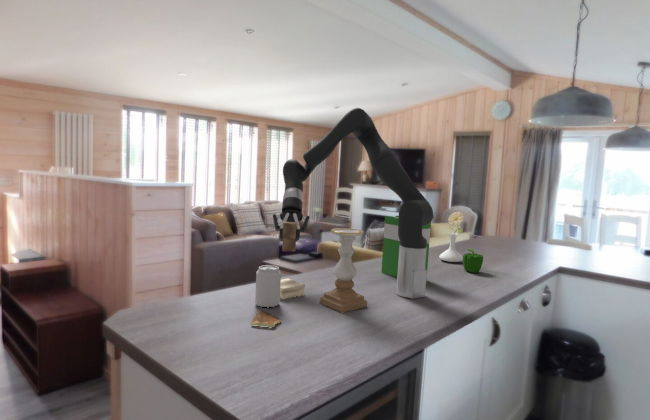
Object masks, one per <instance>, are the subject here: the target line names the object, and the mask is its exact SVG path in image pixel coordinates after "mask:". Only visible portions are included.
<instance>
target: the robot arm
mask: <svg viewBox="0 0 650 420" xmlns="http://www.w3.org/2000/svg"><path fill="white" fill-rule="evenodd" d="M351 134H352V135H353V136H354V137H356V139H357V140H358V141H359V143H361V145H362V146H363V147H364V149H365V151H366V153H367V157H368V159H369V162H370V165H371V168H372V169H373V171H374V172H375V174H376V175H377V177H378V178H379V179H380V181H381V182H382V183H383V184H384V185H385V186H386V187H388V188H389V189H390V190H391V191H393V193H395V194H396V195H397V196H398V198H400V200H401V201H402V204H401V205H400V208H399V210H398V215H397V216H398V237H399V240H400V248H399V261H398V275H397V277H396V294H397V295H398V296H399V297H403V298H409V299H411V300H413V299H420V298H426V289H427V288H426V287H427V280H426V278H427V277H428V269H427V270H425V262H426V249H427V240H426V238H424V237H423V235H422V226H425V225H427V224H429V223H430V222H431V223H432V221H433V219H434V209H433V207H432V205H431V203H430V202H429V201H428V200H427V198H425V196H424V195H423V194H422V193H421V191H420V190H419V189H418V188H417V186H416V185H415V184H414V183H413V181H412V179H411V178H410V175H408V173H407V171H406V170H405V169H404V166H403V165H402V163H401V162H400V161H399V159H398V158H397V156H396V154H395V153H394V152H393V151H392V149H391V148H390V146H388V144H387V143H386V142H385V141H384V140H383V139H382V137H381V136H380V134H379V131H378V129H377V126H375V124H374V121H373V119H372V117H371V116H370V115H369V114H368V113H367V112H366V111H365V110H364V109H363V108H360V107H354V108H351V109H350V110H348V111H347V112H346V113H345V114H344V115H343V116H342V118H341V119H340V120H339V121H338V122H337V123H336V124H335V125H334V126H333V128H332V129H331V130H329V131H328V133H326V135H325V136H324V137H322V138H321V139H320V140H319V141H318V142H317V143H315V144H314V145H313V146H311V147H310V148H309V149H308V150H307V151H305V152H304V153H303V154H302V158H303V161H304V162H305V164H304V165H302V164H301V162H299V161H298V160H297V159H295V158H289V159H287V161H285V163H283V166H282V176H283V181H284V194H283V197H282V206H281V212H280V213H279V214H276V213H274V214H272V220H273V221H272V222H273V225H274V229H275V231H276V232H279V233H278V237H279V240H280V241H281V242H283V223H284V221H285V222H286V221H291V222H297V227H296V228H297V230H296V237H295V240H296V242H298V241H299V240H300V237H301V236H300V235H301V233H305V232H306V230H307V228H308V226H309V223H310V219H311V218H310V215H303V204H304V195H303V193H304V184H303V183H304V182H306V180H307V179H308V178H309V176H310V175H311V174H312V172H313V171H314V170H315V168H316V167H317V166H319V165H320V164H321V163H323V162H324V161H325V160H327V159H328V158H329V156H331V154H332V153H333V152H334V150H335V149H336V147H337V146H338V145H339V143H341V141H342V140H343V139H345V137H347V136H349V135H351ZM280 220H281V224H280V225H279V221H280ZM301 221H303V222H302V223H303V224H302V226H300V222H301Z"/></svg>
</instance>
